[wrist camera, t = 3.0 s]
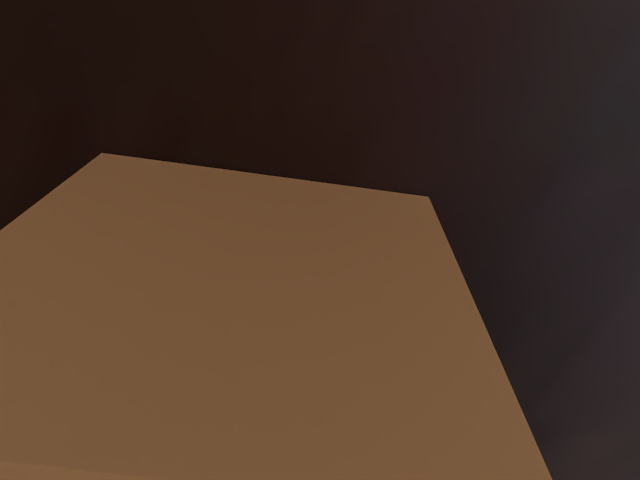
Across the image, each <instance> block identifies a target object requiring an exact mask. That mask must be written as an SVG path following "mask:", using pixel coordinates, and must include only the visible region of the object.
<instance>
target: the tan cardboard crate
mask: <svg viewBox="0 0 640 480" xmlns="http://www.w3.org/2000/svg"><path fill="white" fill-rule="evenodd" d="M0 480H552V478H551V476H550V473H549V471H548V469H547V467H546V464H545V462H544V460H543V457H542V455H541V453H540V451H539V448H538V446H537V444H536V441H535V439H534V437H533V435H532V432H531V430H530V428H529V425H528V423H527V421H526V419H525V416H524V414H523V412H522V409H521V407H520V405H519V403H518V400H517V398H516V396H515V393H514V391H513V389H512V387H511V384H510V382H509V380H508V377H507V375H506V373H505V371H504V368H503V366H502V364H501V361H500V359H499V357H498V355H497V352H496V350H495V348H494V345H493V343H492V341H491V339H490V336H489V334H488V332H487V329H486V327H485V325H484V323H483V320H482V318H481V316H480V313H479V311H478V309H477V307H476V304H475V302H474V300H473V297H472V295H471V293H470V291H469V288H468V286H467V284H466V281H465V279H464V277H463V275H462V272H461V270H460V268H459V265H458V263H457V261H456V259H455V256H454V254H453V252H452V249H451V247H450V245H449V243H448V240H447V238H446V236H445V233H444V231H443V229H442V227H441V224H440V222H439V220H438V217H437V215H436V213H435V211H434V208H433V206H432V204H431V201H430V199H429V197H427V196H419V195H412V194H404V193H397V192H389V191H382V190H374V189H367V188H360V187H352V186H345V185H337V184H330V183H322V182H315V181H308V180H300V179H293V178H285V177H278V176H270V175H263V174H256V173H248V172H241V171H233V170H226V169H218V168H211V167H203V166H196V165H189V164H181V163H174V162H166V161H159V160H151V159H144V158H137V157H129V156H122V155H114V154H107V153H101V154H100V155H98V156H97V157H96V158H95V159H93V160H92V161H91V162H89V163H88V164H87V165H85V166H84V167H83V168H81V169H80V170H79V171H78V172H76V173H75V174H74V175H72V176H71V177H70V178H68V179H67V180H66V181H64V182H63V183H62V184H60V185H59V186H58V187H57V188H55V189H54V190H53V191H51V192H50V193H49V194H47V195H46V196H45V197H43V198H42V199H41V200H40V201H38V202H37V203H36V204H34V205H33V206H32V207H30V208H29V209H28V210H26V211H25V212H24V213H23V214H21V215H20V216H19V217H17V218H16V219H15V220H13V221H12V222H11V223H9V224H8V225H7V226H6V227H4V228H3V229H2V230H0Z"/></svg>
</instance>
